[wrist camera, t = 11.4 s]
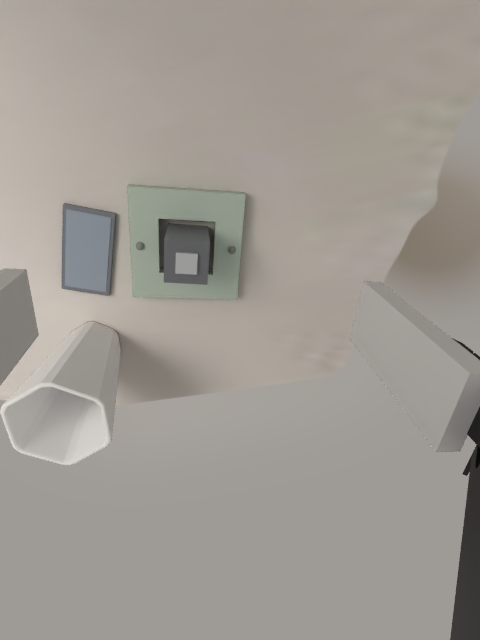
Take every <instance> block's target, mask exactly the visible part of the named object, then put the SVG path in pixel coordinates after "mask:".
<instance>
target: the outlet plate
mask: <svg viewBox="0 0 480 640" xmlns="http://www.w3.org/2000/svg"><path fill="white" fill-rule="evenodd" d="M127 195H128V213H129V231H130V250H131V268H132V287H133V297H158V298H195V299H233V300H237V294H238V282H239V269H240V257H241V245H242V233H243V221H244V209H245V196H246V194H245V193H244V192H231V191H216V190H201V189H187V188H172V187H157V186H142V185H128V186H127ZM159 219H176V220H194V221H212V222H215V226H214V247H213V268H212V271H208V283H207V285H202V284H183V283H164V269H160V227H159Z"/></svg>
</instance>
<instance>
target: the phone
mask: <svg viewBox="0 0 480 640" xmlns="http://www.w3.org/2000/svg"><path fill="white" fill-rule="evenodd" d="M115 222H116V213H113V212H107V211H102V210H97V209H92V208H87V207H82V206H77V205H72V204H67V203H64V204H63V236H62V289H68V290H75V291H81V292H88V293H94V294H100V295H107V296H109V295H110V286H111V273H112V261H113V248H114V235H115Z"/></svg>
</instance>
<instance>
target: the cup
mask: <svg viewBox="0 0 480 640" xmlns="http://www.w3.org/2000/svg"><path fill="white" fill-rule="evenodd" d="M120 355H121V349H120V343H119V337H118V334H117V333H116V332H115V330H113V329H111V328H109V327H106V326H104V325H101V324H99V323H96V322H87V323H85V324H83V325H82V326H80V327H78V328H77V329H75V330H73V331H72V332H71V333H70V334H69V335H68V336H67V337H66V338H65V339H64V340H63V341H62V342H61V343H60V344H59V346H58V347H57V348H56V349H55V350H54V351H53V352H52V353H51V354H50V355H49V356H48V357H47V358H46V359H45V360H44V362H43V363H42V364H41V365H40V366H39V367H38V368H37V369H36V370H35V371H34V372H33V373H32V374H31V375H30V377H29V378H28V379H27V380H26V381H25V382H24V383H23V384H22V385H21V386H20V387H19V388H18V389H17V390H16V392H15V393H14V394H13V395H12V396H11V397H10V398H9V399H8V400H7V401H6V402H5V403H4V404H3V406H2V409H1V411H0V414H1V416H2V419H3V422H4V424H5V427H6V430H7V433H8V435H9V438H10V441H11V443H12V446H13V448H15V449H16V450H17V451H18V452H20V453H23V454H26V455H30V456H34V457H37V458H41V459H44V460H48V461H51V462H55V463H59V464H62V465H72V464H75V463H76V462H78V461H80V460H82V459H84V458H86V457H88V456H90V455H91V454H93V453H95V452H97V451H99V450H101V449H103V448H104V447H106V446H108V445H109V443H110V442H111V440H112V431H113V422H114V412H115V403H116V393H117V383H118V374H119V364H120Z"/></svg>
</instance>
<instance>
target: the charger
mask: <svg viewBox="0 0 480 640" xmlns="http://www.w3.org/2000/svg"><path fill="white" fill-rule="evenodd" d="M209 253H210V238H209V232H208V226H199V225H185V224H172V223H168V226H167V230H166V234H165V237H164V283H183V284H202V285H207V283H208V268H209Z"/></svg>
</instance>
